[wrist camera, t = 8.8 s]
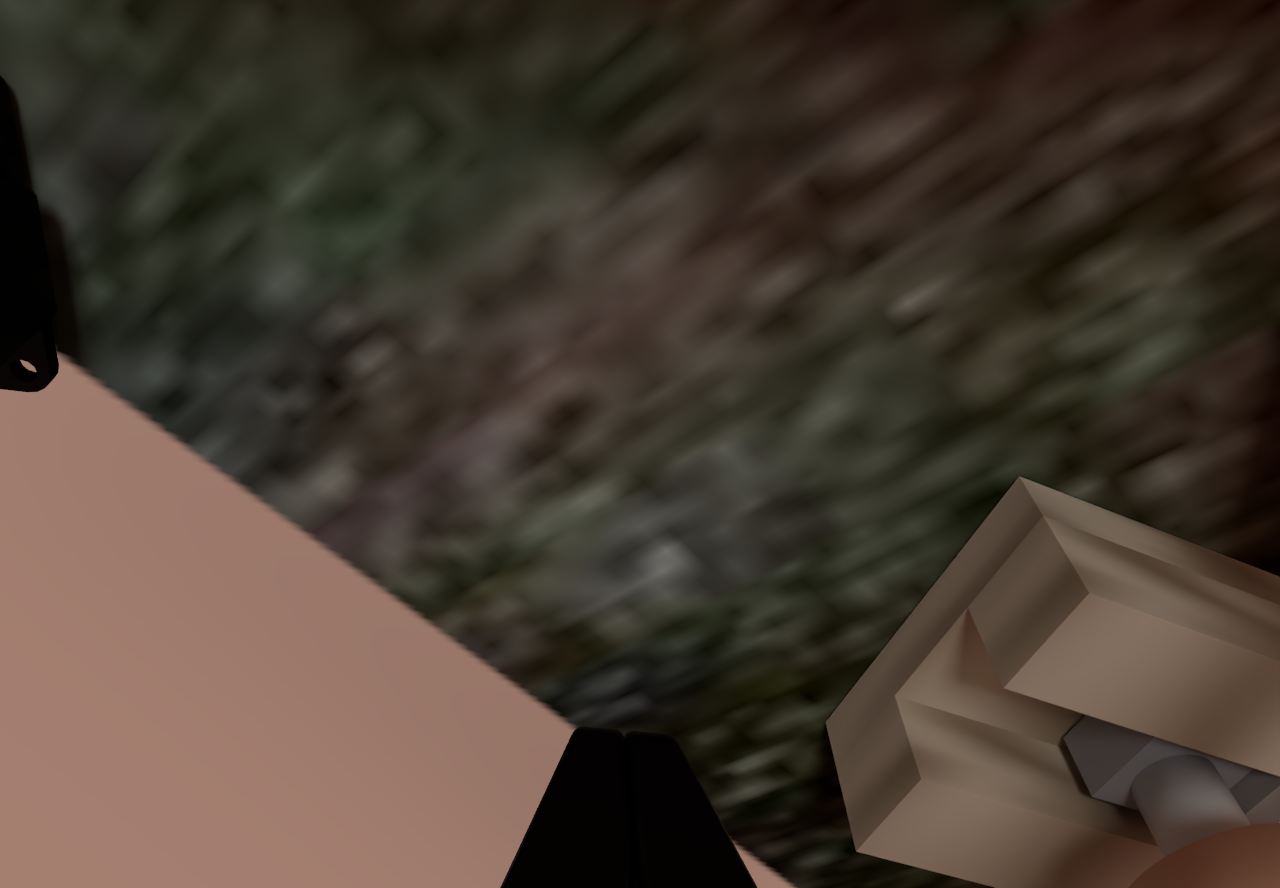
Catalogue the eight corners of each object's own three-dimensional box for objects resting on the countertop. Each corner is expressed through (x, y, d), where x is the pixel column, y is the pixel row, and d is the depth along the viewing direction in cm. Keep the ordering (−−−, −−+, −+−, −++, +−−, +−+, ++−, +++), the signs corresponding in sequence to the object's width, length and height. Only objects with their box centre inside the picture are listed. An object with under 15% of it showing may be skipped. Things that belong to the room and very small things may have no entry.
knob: (996, 760, 26) (1149, 1140, 19) (1124, 625, 24) (1359, 1004, 16) (1152, 806, 27) (1353, 1180, 20) (1290, 683, 25) (1576, 1060, 18)
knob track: (825, 722, 28) (856, 851, 24) (1019, 476, 23) (1089, 593, 20) (1087, 799, 30) (1148, 927, 26) (1310, 588, 25) (1417, 710, 22)
